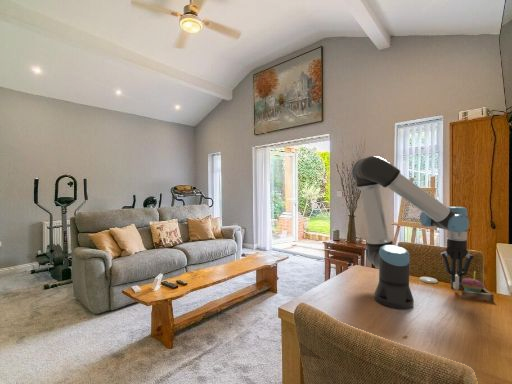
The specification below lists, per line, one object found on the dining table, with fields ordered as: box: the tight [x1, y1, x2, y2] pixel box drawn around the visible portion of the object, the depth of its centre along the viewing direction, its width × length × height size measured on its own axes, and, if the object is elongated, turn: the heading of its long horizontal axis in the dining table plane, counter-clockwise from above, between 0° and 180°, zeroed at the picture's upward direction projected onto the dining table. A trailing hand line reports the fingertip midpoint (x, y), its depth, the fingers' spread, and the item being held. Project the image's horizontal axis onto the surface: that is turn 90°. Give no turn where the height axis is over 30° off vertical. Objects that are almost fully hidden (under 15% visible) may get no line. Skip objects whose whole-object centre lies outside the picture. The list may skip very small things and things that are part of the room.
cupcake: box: [460, 269, 485, 293], centre depth 122 cm, size 9×8×12 cm
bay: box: [449, 280, 495, 302], centre depth 122 cm, size 11×14×3 cm
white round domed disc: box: [419, 276, 439, 284], centre depth 139 cm, size 8×8×1 cm
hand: (455, 288), depth 124 cm, fingers closed
